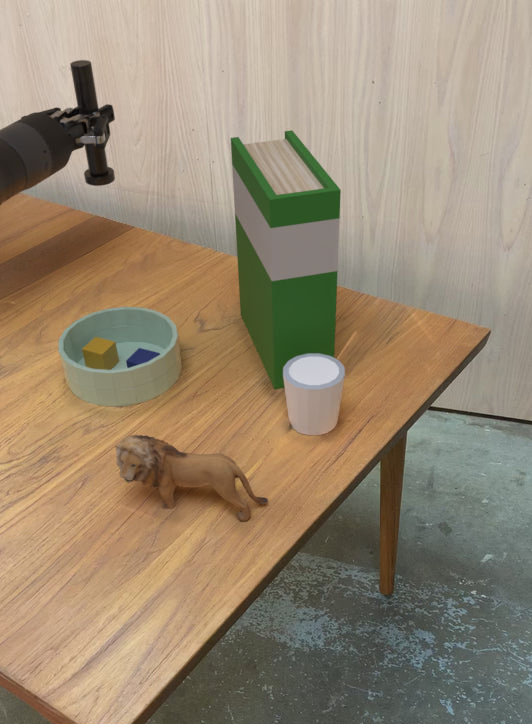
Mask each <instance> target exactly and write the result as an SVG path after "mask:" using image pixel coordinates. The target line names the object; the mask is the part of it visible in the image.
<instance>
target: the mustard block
mask: <svg viewBox="0 0 532 724" xmlns="http://www.w3.org/2000/svg"><path fill="white" fill-rule="evenodd" d="M82 352H83V356H84V360H85V365H86V367H89V368H93V369H104V370H111V369H112V368H113V367H114V366H115V365H116V364H117V363H118V362H119V358H118V352H117V347H116V342H114V341H110V340H107V339H103V338H99V337H95V338H94V339H93V340H91V341H90V342H89V343H88V344H87V345H86V346H85V347H84V348H83V349H82Z"/></svg>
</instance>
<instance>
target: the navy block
mask: <svg viewBox="0 0 532 724" xmlns="http://www.w3.org/2000/svg"><path fill="white" fill-rule="evenodd" d="M158 355H160V353H157V352H154V351H150V350H146V349H142V348H138V349H137V350H136V351H135V352H134V353H133V354H132V355H131V356H130V357H129V358H128V359H127V360H126V363H127V368H130V367H133V366H136V365H139V364H142V363H145V362H148V361H150V360H151V359H153V358H155V357H157V356H158Z"/></svg>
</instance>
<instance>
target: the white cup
mask: <svg viewBox="0 0 532 724" xmlns="http://www.w3.org/2000/svg"><path fill="white" fill-rule="evenodd" d="M345 376H346V368H345V366H344V364H343V363H342V362H341V361H340V360H339V359H337V358H336V357H335V356H334V357H332V356H329V355H324V354H320V353H308V354H303V355H299V356H296V357H294V358H292V359H291V360H289V361H288V362H287V363H286V364H285V366H284V367H283V379H284V387H285V388H284V393H285V403H286V409H287V418H288V421H289V422H290V427H291V429H293V430H294V431H296V432H297V433H299V434H302V435H306V436H321V435H325V434H328V433H329V432H331V431H333V430H334V429H335V428H336V426H337V425H338V422H339V414H340V409H341V403H342V395H343V390H344V383H345V378H346V377H345Z"/></svg>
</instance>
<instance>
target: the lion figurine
mask: <svg viewBox="0 0 532 724" xmlns="http://www.w3.org/2000/svg"><path fill="white" fill-rule="evenodd" d="M114 447H115V450H116V452H115V454H116V466H117V467H118V468H119V470H120V471H119V477H120V478H121V479H124V481H125V483H127V484H132V483H133V482H136V483H139V482H140V483H142V485H143V486H144V487H147V488H154V489H156V488H157V489H158V491H159V494H160V496H161V498H162V500H163V502H164V504H163V505H162V506H161V509H162V510H173V509H174V507H176V502H175V499H174V492H175V490H176V487H178V486H179V487H183V488H199V487H204V486H206V485H208V484H210V485H212V486H213V487H214V489H215V491H216V492H217V493H218V495H219V496H220V497H222V499H224V500H225V501H226V502H228V503H229V504H231V505H233V506H235V507H237V508H238V509H239V511H238V512H237V513H236V517H237V519H238V520H239V521H240V522H245V521H248V520H249V518H250V517H251V509H250V505H249V502H248V500H246V499H244V498H243V497H242V496H241V495H240V493H239V492H238V490H237V487H236V479H239V481H240V482H241V484H242V486H243V488H244V490H245V491H246V493H247V495H248V496H249V498H250V499H251V500H252V501H254V502H256V504H260V505H264V504H268V502H269V499H268V498H267V497H263V496H262V497H261V496H256V495H255V494H254V491H253V490H252V488H251V487H252V486H251V485H250V483H249V480H248V478H247V476H246V474H245V473H244V472H243V470H242V468H241V467H239V466H238V464H237V463H236V461H235V460H234V459H233V458H231V457H230V456H228V455H226V454H223V453H206V454H205V453H204V454H201V453H191V452H183V451H179V450H178V449H177V448H176V447H175V446H173V445H172V444H169V442H166V441H165V440H162V439H159V438H156V437H154V436H148V435H142V434H133V435H129V436H128V435H127V436H125V437H124V438H123V439H121V441H120V442H119V443H118V444H115V445H114Z"/></svg>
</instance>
